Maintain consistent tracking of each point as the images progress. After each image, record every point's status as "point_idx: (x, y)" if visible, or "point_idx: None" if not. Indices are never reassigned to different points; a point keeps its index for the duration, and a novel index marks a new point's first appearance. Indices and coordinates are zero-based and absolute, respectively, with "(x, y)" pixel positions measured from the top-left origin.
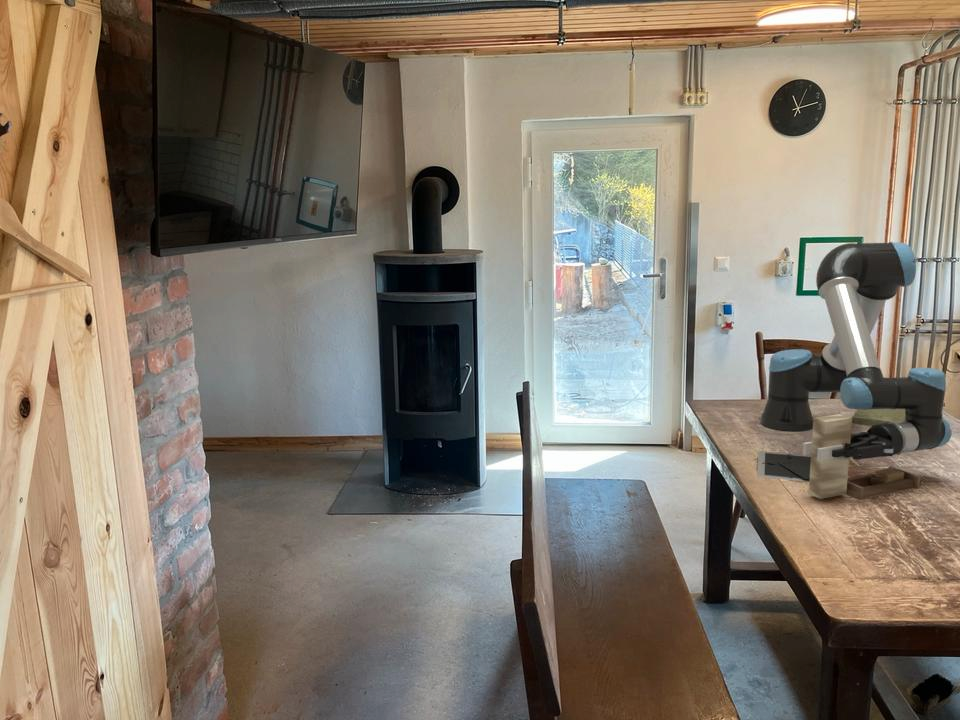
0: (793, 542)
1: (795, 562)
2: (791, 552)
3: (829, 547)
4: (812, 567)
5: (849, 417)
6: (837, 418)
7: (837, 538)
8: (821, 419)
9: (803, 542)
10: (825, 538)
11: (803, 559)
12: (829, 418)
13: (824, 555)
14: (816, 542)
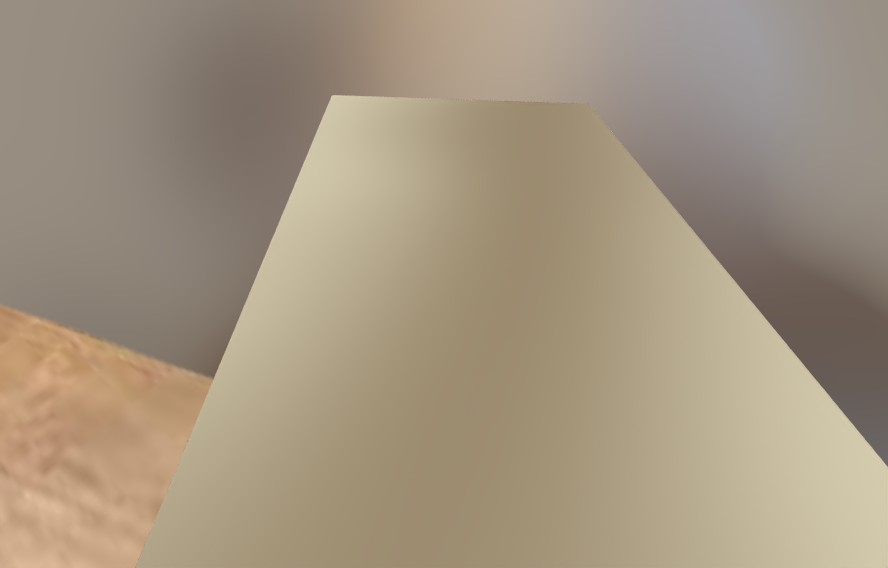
0: (155, 395)
1: (67, 328)
2: (115, 353)
3: (16, 464)
4: (5, 342)
5: (283, 564)
6: (397, 236)
7: (22, 552)
8: (469, 111)
9: (126, 419)
10: (72, 507)
11: (56, 352)
12: (475, 171)
13: (5, 411)
14: (85, 454)
